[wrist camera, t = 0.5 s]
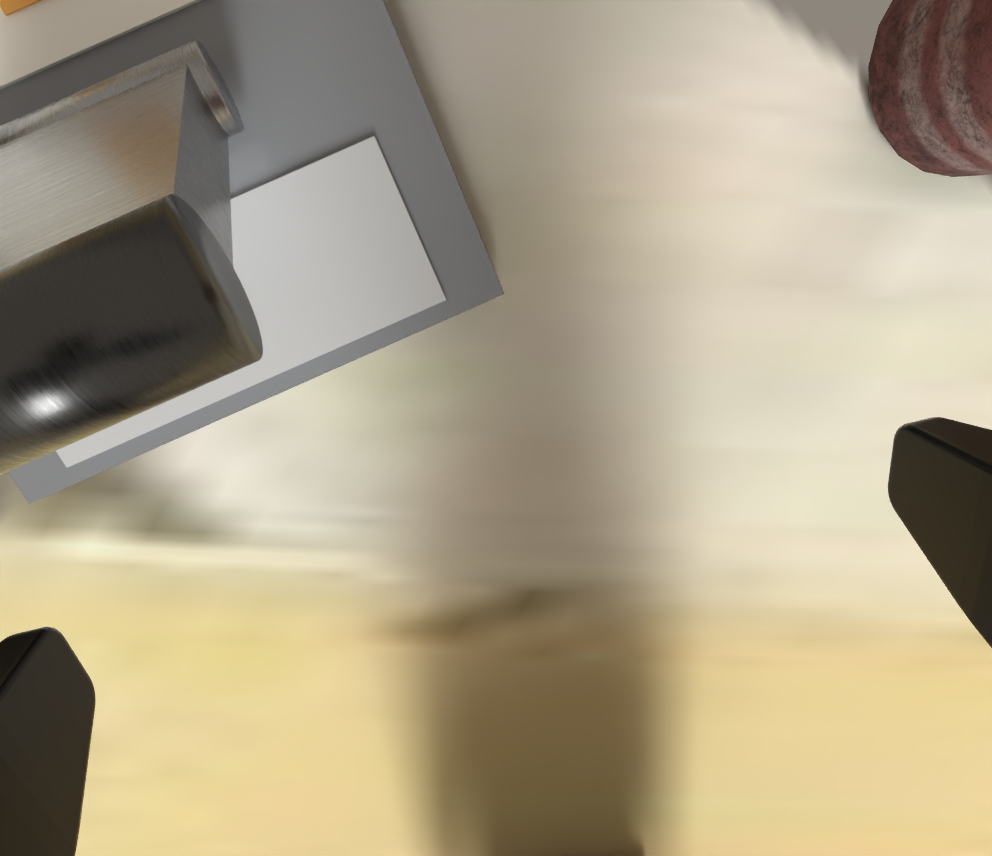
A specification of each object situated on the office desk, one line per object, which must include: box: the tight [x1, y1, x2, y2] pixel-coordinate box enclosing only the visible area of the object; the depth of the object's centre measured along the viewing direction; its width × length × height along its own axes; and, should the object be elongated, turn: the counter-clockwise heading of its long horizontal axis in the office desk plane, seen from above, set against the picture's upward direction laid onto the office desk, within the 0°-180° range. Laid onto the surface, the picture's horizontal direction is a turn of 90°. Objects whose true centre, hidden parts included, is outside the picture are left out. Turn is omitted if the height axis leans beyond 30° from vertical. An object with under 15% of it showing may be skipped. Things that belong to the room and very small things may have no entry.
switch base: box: [0, 0, 504, 504], centre depth 19 cm, size 14×14×2 cm
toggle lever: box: [0, 39, 263, 475], centre depth 13 cm, size 2×6×11 cm, turn 113°
